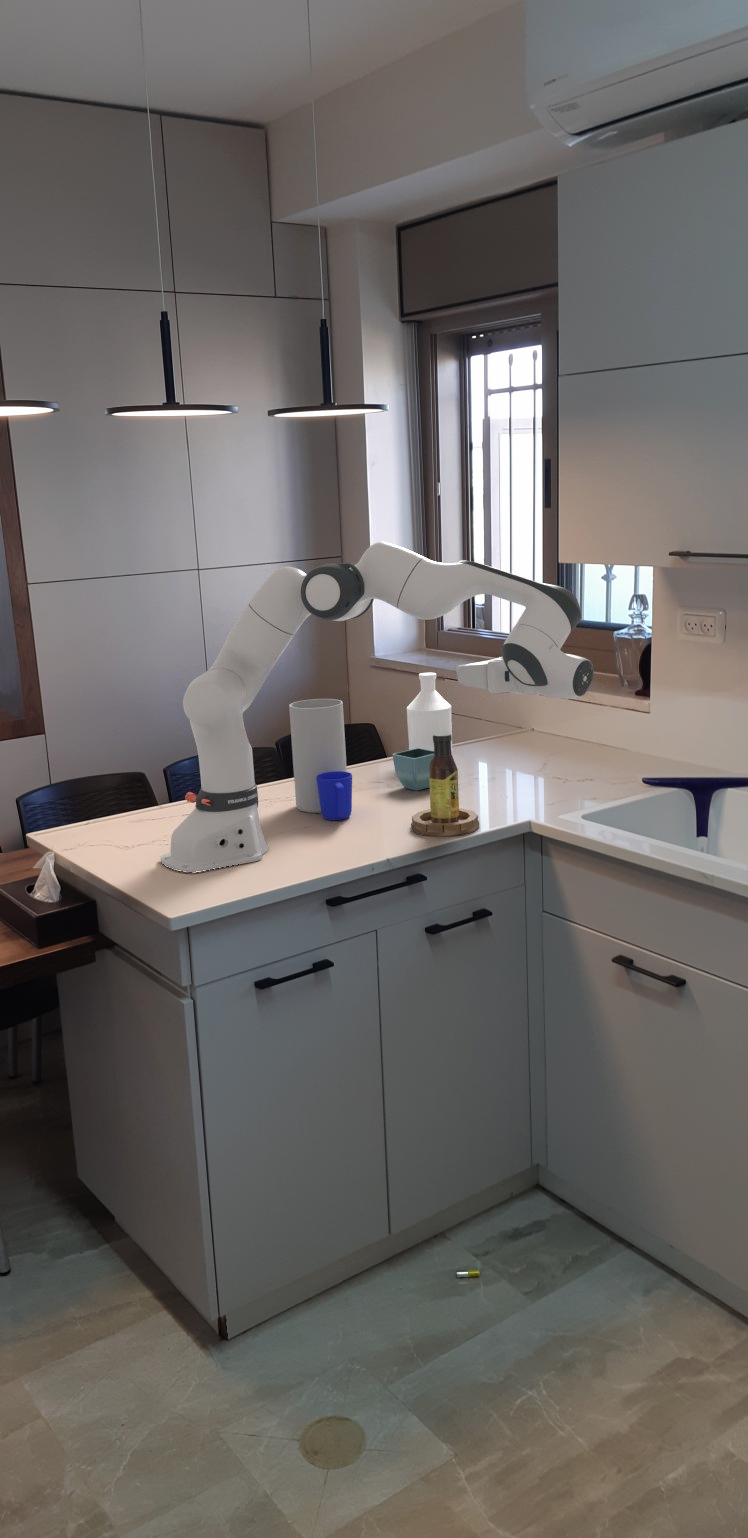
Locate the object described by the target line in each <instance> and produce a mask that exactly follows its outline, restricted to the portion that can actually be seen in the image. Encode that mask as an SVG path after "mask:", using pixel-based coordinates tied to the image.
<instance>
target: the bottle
mask: <svg viewBox="0 0 748 1538" xmlns="http://www.w3.org/2000/svg"><path fill="white" fill-rule="evenodd" d="M418 679H419V681H420V691H419V693H418V694H417V695H416V696H415V698H413V700H412V701H411V702H410V703H409V704H408V705H407V707H406V719H407V736H408V737H407V738H408V750H411V749H416V748H421V749H426V750H431V751H434V742H433V734H437V733H449V734H451V738H452V740H451V751H452V752H453V732H452V731H453V730H452V729H453V727H452V725H453V723H452V705H451V704H450V703H449V702H448V701H447V700H446V699H444V697H443V696H441V694H440V693H439V692H438V691H437V690H436V679H437V673H436V672H422V673H419V674H418Z"/></svg>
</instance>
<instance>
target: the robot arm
mask: <svg viewBox="0 0 748 1538" xmlns="http://www.w3.org/2000/svg"><path fill="white" fill-rule="evenodd" d="M479 595H489V596H490V595H491V596H493V597H495V598H496V597H497V598H498V599H499V598H500V599H502V600H504V601H508V602H511V603H513V604H517V605H520V606H522V607H525V609H524V611H523V612H522V614H521V616H520V617H519V619H518V620H517V622H516V623H515V625H514V626H513V627H512V629H511V631H510V632H509V634H508V636H507V638H506V639H505V640H504V643H503V644H502V646H501V656H499V657H496V658H494V659H489V660H483V661H479V662H478V661H477V662H472V663H466V664H459V665H456V666H455V671H456V674H457V682H458V683H459V685H461V686H465V687H470V688H474V689H480V690H488V693H490V694H510V693H511V694H516V695H525V696H540V695H541V696H543V697H545V698H550V699H557V700H573V699H578V698H581V697H583V696H584V695H585V694H586V693H587V692H588V691H589V688H590V687H591V685H592V683H593V681H594V674H595V673H594V672H595V671H594V665H593V662H592V661H591V660H590V659H589V658H588V659H587V658H586V657H583V656H580V655H575V654H571V653H565V652H564V651H562V650H561V649H562V647H563V646H564V644H565V642H566V640H567V639H568V637H569V635H571V634H572V632H573V630H574V629H575V628H576V627H577V625H578V624H579V623H580V621H581V619H582V613H581V607H580V603H579V601H578V599H577V596H576V595H575V594H574V593H572V591H570V590H569V589H567V588H565V587H562V586H560V585H555V584H549V583H544V582H541V581H540V582H539V581H535V580H532V579H529V578H526V577H523V576H520V575H518V574H514V573H511V572H508V571H504V570H501V569H499V568H496V567H492V566H489V565H486V564H482V563H481V562H480V563H479V562H476V561H471V560H465V559H461V560H459V561H457V562H454V563H453V562H452V563H451V562H450V563H447V562H444V563H443V562H437V561H434V560H431V559H429V558H427V557H425V556H423V555H420V554H418V553H416V552H414V551H412V550H409V549H407V548H405V547H402V546H399V545H396V544H392V543H389V542H385V541H379V542H375V543H373V544H371V545H370V546H369V547H368V548H367V549H366V550H365V551H364V552H363V554H362V556H361V558H360V559H359V561H358V562H357V563H356V564H354V563H351V562H339V563H338V562H337V563H326V564H322V565H321V564H320V565H319V566H316V567H314V568H313V569H312V570H310V571H309V572H308V573H305V572H304V571H303V570H301V569H299V568H297V567H293V566H288V565H287V566H281V567H279V568H278V569H276V570H275V571H274V572H273V573H272V574H271V575H270V576H269V577H268V578H267V579H266V580H265V581H264V583H263V584H262V585H261V586H260V587H259V589H258V590H257V591H256V592H255V594H254V595H253V597H252V598H251V599H250V601H249V602H248V604H247V605H246V607H245V608H244V610H243V611H242V613H241V614H240V615H239V617H238V619H237V620H236V622H235V624H234V625H233V627H231V629H230V631H229V633H228V635H227V636H226V639H225V641H224V644H223V646H222V647H221V649H220V651H219V654H218V655H217V657H216V658H215V660H214V662H213V663H212V665H211V666H210V668H208V669H207V671H205V672H204V673H201V674H200V675H199V676H197V677H195V678H194V679H193V680H192V681H191V682H190V683H189V684H188V687H187V689H186V691H185V692H184V695H183V698H182V699H183V700H182V708H183V711H184V715H186V718H187V719H188V720H189V724H190V727H191V730H192V731H191V732H192V735H193V739H194V741H195V744H196V748H197V755H198V756H197V757H198V763H199V764H198V765H199V774H200V784H201V788H200V789H199V792H198V793H197V794H196V793H193V792H191V791H189V792H186V795H184V796H185V797H184V799H185V801H187V802H188V803H192V804H194V803H195V808H194V809H193V810H192V811H191V812H190V813H189V814H188V816H186V818H185V819H183V821H182V822H181V823H180V824H179V825H177V827H176V828H175V829H174V830H173V831H172V834H171V837H170V838H171V839H170V852H168V853H164V854H162V855H161V856H160V863H161V862H162V864H164V865H166V866H168V867H170V868H173V869H177V870H181V871H186V872H196V871H203V870H209V869H213V868H219V867H224V868H226V867H225V866H229V867H233V866H232V865H234V866H237V865H238V864H239V865H243V864H247V863H253V862H258V861H260V860H262V858H263V855H264V854H265V853H266V852H267V851H268V849H269V848H268V845H267V842H266V840H265V837H264V834H263V831H262V826H261V821H260V816H259V811H258V807H259V792H258V785H257V784H256V782H255V769H254V768H255V767H254V757H253V756H254V755H253V747H252V746H251V744H250V741H249V739H248V736H247V732H246V728H245V723H244V717H243V716H244V715H243V714H244V712H245V711H246V710H247V709H249V708H250V706H251V704H252V703H253V701H254V700H255V698H256V697H257V695H258V693H259V692H260V690H261V688H262V687H263V685H264V683H265V681H266V680H267V678H268V676H269V675H270V673H271V670H272V669H273V668H274V667H275V665H276V664H277V661H278V660H279V658H281V655H282V654H283V652H284V651H285V649H286V648H287V647H288V646H289V644H290V642H291V641H292V639H293V638H294V636H295V635H296V633H297V632H298V630H299V629H300V627H301V626H302V624H303V623H304V622H305V620H306V619H308V617H310V616H311V615H312V616H314V617H315V618H317V619H319V620H322V621H334V622H343V621H347V620H350V619H356V618H359V617H361V616H362V615H363V616H364V614H365V613H366V612H368V611H369V609H370V608H371V607H372V605H373V603H374V600H380V601H382V602H385V603H387V604H389V605H390V606H392V607H394V608H396V609H397V610H398V611H399V610H400V611H401V612H403V613H405V614H407V615H409V616H411V617H413V618H415V619H419V620H424V621H425V620H435V619H438V618H440V617H442V616H446V615H447V614H449V613H450V612H451V611H453V610H455V608H458V606H459V605H461V604H462V603H463V602H464V603H465V601H467V600H469V599H471V598H473V597H476V596H479ZM162 864H161V865H162ZM164 865H163V866H164ZM219 869H220V868H219ZM209 871H210V870H209Z"/></svg>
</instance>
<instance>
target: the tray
mask: <svg viewBox="0 0 748 1538" xmlns="http://www.w3.org/2000/svg"><path fill="white" fill-rule="evenodd" d="M431 820H432V818H431V808H430V809H426V810H421V811H419V812H416V813H415V814H413V816H411V823H410V830H411V832H413V833H415V834H418V835H421V836H426V837H432V836H433V837H434V838H435V837H436V838H441V837H442V838H449V837H458V836H464V835H467V834H468V835H469V834H471V833H474V832H476V831H477V830H478V829H479V828H480V821H479V815H478V814H477V813H476V812H475V811H474V810H471V809H470V810H469V809H466V808H461V807H459V822H455V823H444V824H443V823H432V821H431ZM475 830H476V831H475ZM473 831H474V832H473ZM433 837H432V838H433Z"/></svg>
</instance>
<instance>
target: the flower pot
mask: <svg viewBox="0 0 748 1538" xmlns="http://www.w3.org/2000/svg"><path fill="white" fill-rule="evenodd" d="M391 756H392V762H393V766H394V770H395V774H396V777H397V778H398V781H399V782H400V783H401V785H402V787H403V788H404V789H409V790H411V791H412V790H413V791H421V790H424V789H428V788H429V789H430V782H429V777H430V770H429V768H430V763H431V760H432V759H433V757H434V751H431V750H426V749H421V748H416V749H411V750H409V749H407V750H403V751H400V752H394V753H392V755H391Z"/></svg>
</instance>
